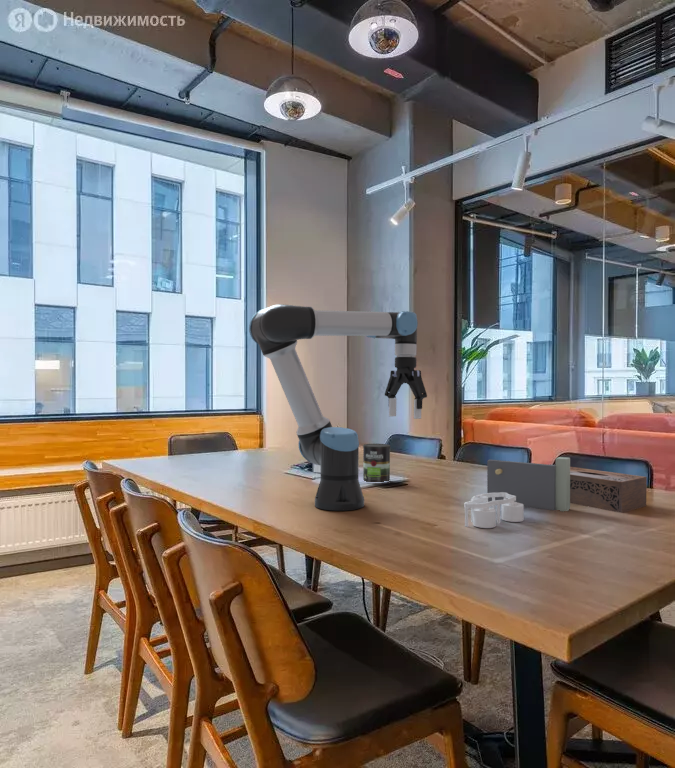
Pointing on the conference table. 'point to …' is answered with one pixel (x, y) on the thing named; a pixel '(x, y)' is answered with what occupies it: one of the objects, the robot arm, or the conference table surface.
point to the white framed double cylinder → (493, 510)
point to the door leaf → (532, 483)
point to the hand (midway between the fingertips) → (404, 417)
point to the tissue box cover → (607, 490)
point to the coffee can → (376, 462)
